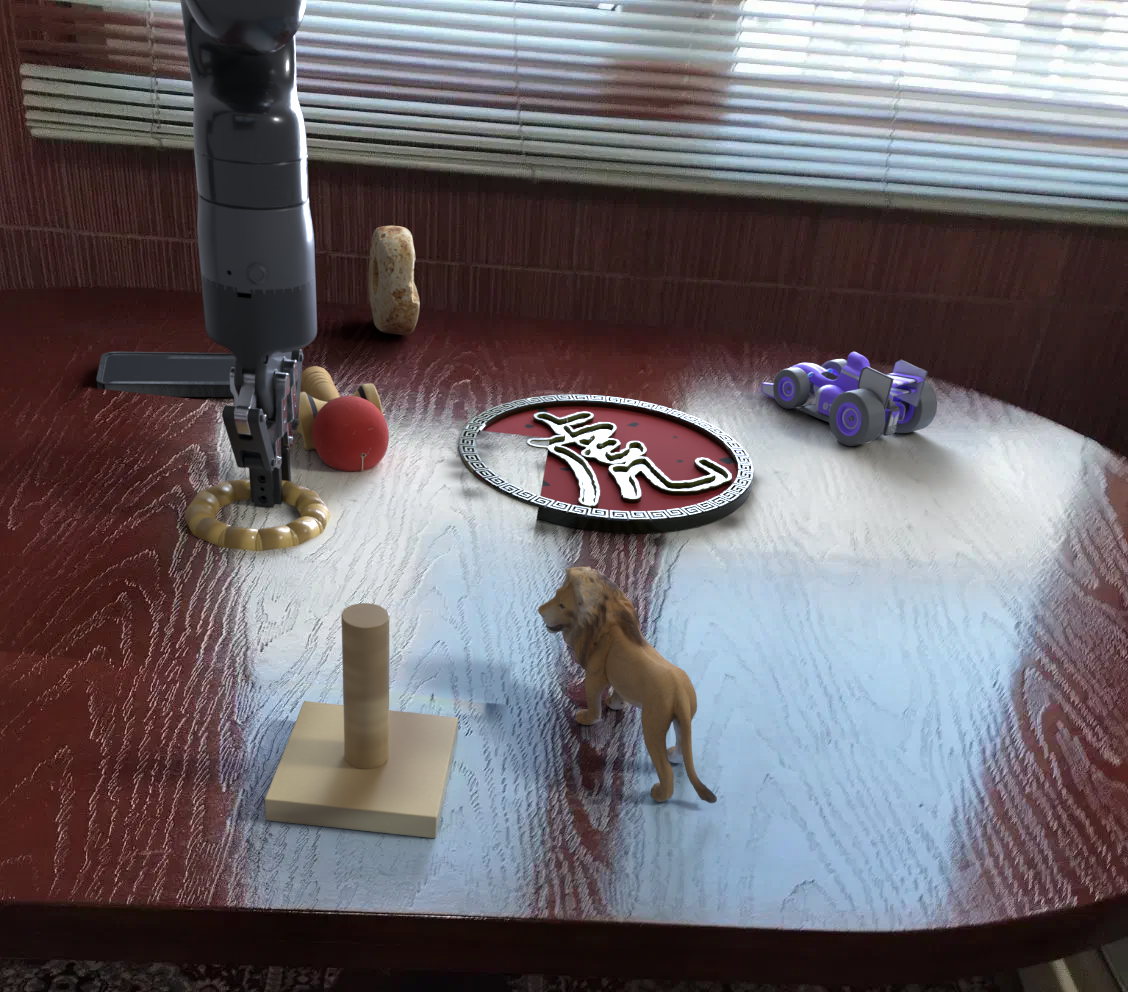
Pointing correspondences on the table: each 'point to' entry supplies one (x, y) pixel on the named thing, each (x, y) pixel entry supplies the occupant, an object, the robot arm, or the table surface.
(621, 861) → the table surface
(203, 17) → the robot arm
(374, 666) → the post
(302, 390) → the kendama
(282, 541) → the ring
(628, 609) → the lion figurine
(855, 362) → the toy race car
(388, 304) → the stone disc
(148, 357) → the phone
